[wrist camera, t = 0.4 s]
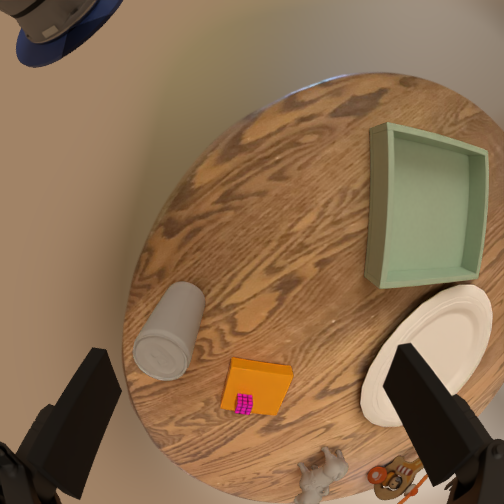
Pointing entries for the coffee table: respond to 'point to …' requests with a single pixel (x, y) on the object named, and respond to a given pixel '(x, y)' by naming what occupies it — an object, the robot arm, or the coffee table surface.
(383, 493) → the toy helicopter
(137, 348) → the beverage can
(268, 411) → the orange square platform
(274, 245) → the coffee table surface
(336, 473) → the grey stone animal figure
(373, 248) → the tray
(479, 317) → the plate
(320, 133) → the coffee table surface
